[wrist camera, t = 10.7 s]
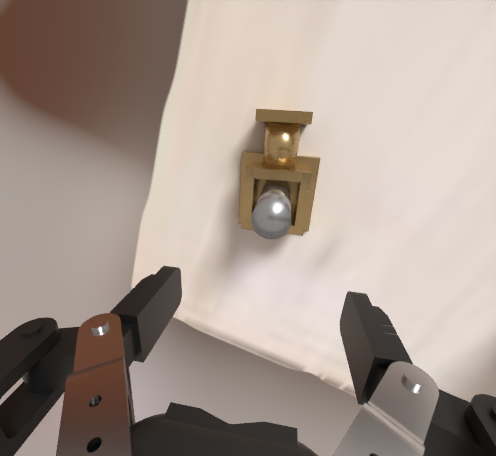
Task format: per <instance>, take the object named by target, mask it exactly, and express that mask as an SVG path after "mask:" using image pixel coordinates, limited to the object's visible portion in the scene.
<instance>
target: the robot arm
mask: <svg viewBox="0 0 496 456" xmlns="http://www.w3.org/2000/svg"><path fill="white" fill-rule="evenodd" d="M181 297H182V288H181V271H180V268H177V267H169V266H163V267H162V268H161V269H160V270H159V271H158V272H157V273H156V274H155V275H153V274H151V275H150V276H148V277H146V278H144V279H142V280H141V281H140V282H139V283H138V284H137V285H136V286H135V288H133V289H132V290H131V291H130V293H129V294H127V295H126V296H125V297H124V298H123V299H122V300H121V302H119V303H118V304H117V306H116V307H115V308H114V309H113V310H112V311H111V312H110V313H104V314H99V315H96V316H94V317H92V318H89V319H88V320H87V321H85V322H84V323H83V324H82V325H81V326H80V327H73V328H61V329H59V328H58V325H57V322H56V321H55V320H54V319H52V318H38V319H35V320H31V321H28V322H26V323H24V324H22V325H20V326H19V327H17V328H16V329H14V330H13V331H12V332H11V333H9V334H8V335H7V336H5V337H4V338H3V339H1V340H0V399H1V397H2V396H3V395H4V394H5V393H6V392H7V391H8V390H9V389H10V388H11V387H12V386H13V385H14V384H15V383H16V382H17V381H18V380H19V379H20V378H21V377H22V378H23V380H24V382H23V383H22V384H21V385H20V386H19V387H18V388H17V389H16V390H15V391H14V392H13V393H12V394H11V395H10V396H9V397H8V398H7V399H6V400H5V401H4V402H3V403H2V404H1V405H0V456H14V454H15V453H16V452H17V451H18V449H19V448H20V447H21V446H22V444H23V443H24V442H25V440H26V439H27V438H28V437H29V436H30V434H31V433H32V432H33V430H34V429H35V428H36V427H37V426H38V424H39V423H40V422H41V420H42V419H43V418H44V417H45V415H46V414H47V413H48V412H49V410H50V409H51V408H52V407H53V405H54V404H55V403H56V402H57V400H58V399H59V398H60V397H61V395H62V394H63V392H65V393H64V400H63V407H62V415H61V422H60V429H59V437H58V444H57V451H56V456H318V455H317V454H316V453H314V452H313V451H312V450H311V449H309V448H308V447H306V446H305V445H304V444H302V443H300V442H298V441H297V428H292V427H288V426H282V425H278V424H273V423H268V422H255V423H244V424H228V423H226V422H224V421H222V420H221V419H218V418H217V417H215V416H213V415H211V414H210V413H208V412H206V411H204V410H202V409H200V408H196V407H191V406H186V405H181V404H176V403H170V405H169V407H168V409H167V412H166V413H165V414H159V415H154V416H151V417H148V418H145V419H143V420H142V421H139V422H137V423H135V418H134V409H133V400H132V391H131V381H130V373H129V366H130V365H131V363H132V362H133V361H139V362H144V361H145V359H146V358H147V356H148V354H149V353H150V351H151V350H152V348H153V346H154V345H155V343H156V342H157V340H158V339H159V337H160V335H161V334H162V332H163V330H164V329H165V327H166V326H167V324H168V323H169V321H170V319H171V318H172V316H173V315H174V313H175V312H176V310H177V308H178V307H179V305H180V302H181ZM340 332H341V336H342V340H343V344H344V348H345V352H346V356H347V360H348V364H349V368H350V372H351V376H352V380H353V385H354V389H355V393H356V397H357V400H358V404H361V405H363V406H362V408H361V410H360V411H359V413H358V415H357V416H356V418H355V420H354V421H353V423H352V425H351V426H350V428H349V430H348V431H347V433H346V435H345V436H344V438H343V440H342V441H341V443H340V445H339V446H338V448H337V449H336V451H335V453H334V454H333V456H496V398H495V397H493V396H489V395H484V394H479V395H475V396H474V397H473V398H472V400H471V402H468V401H465V400H463V399H460V398H458V397H456V396H453V395H451V394H448V393H446V392H444V391H442V390H440V389H438V387H437V385H436V383H435V382H434V380H433V379H432V378H431V377H430V376H429V375H428V374H427V373H426V372H424V371H423V370H422V369H420V368H419V367H417V366H415V365H413V363H412V361H411V359H410V357H409V355H408V354H407V352H406V350H405V348H404V346H403V344H402V342H401V340H400V338H399V336H398V335H397V333H396V331H395V329H394V327H393V325H392V323H391V321H390V319H389V317H388V316H387V315H386V314H385V313H384V312H383V311H382V310H381V309H380V308H379V307H375V306H372V304H371V302H370V300H369V298H368V296H367V294H364V293H357V292H347V295H346V298H345V302H344V306H343V310H342V314H341V319H340Z"/></svg>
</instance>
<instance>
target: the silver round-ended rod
mask: <svg viewBox="0 0 496 456" xmlns="http://www.w3.org/2000/svg"><path fill="white" fill-rule="evenodd" d="M251 223H252V227H253V229H254V230H255V232H256V233H257V234H259V235H260V236H262V237H264V238H267V239H276V238H279V237H281V236H283V235H284V234H286V233H287V231H288V230H289V228H290V225H291V198H290V188H289V186H288V184H287V183H286V182H285V181H280V180H270V181H268V182H267V183H266V184H265V185H264V187H263V190H262V192H261V194H260V197H259V199H258V201H257V204H256V206H255V208H254V211H253V213H252V216H251Z"/></svg>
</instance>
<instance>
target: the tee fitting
mask: <svg viewBox="0 0 496 456" xmlns="http://www.w3.org/2000/svg"><path fill="white" fill-rule="evenodd" d="M312 115H313V112H303V111H284V110H266V109H256V121H259V122H266V129H265V142H264V153H254V152H242V162H241V183H240V205H239V224H242V229H249V230H254V229H253V227H252V223H251V216H252V213H253V211H254V208H255V206H256V204H257V201H258V199H259V197H260V194H261V192H262V190H263V187H264V185H265V184H266V183H267V182H268V181H270V180H280V181H285V182H286V183H287V184H288V186H289V188H290V198H291V225H290V228H289V230H288V231H287V233H286V234H294V235H303V231H308V230H309V224H310V218H311V212H312V206H313V200H314V194H315V187H316V181H317V175H318V169H319V163H320V157H307V156H297V152H298V144H299V136H300V128H301V124H303V125H308V124H311V122H312Z"/></svg>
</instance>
